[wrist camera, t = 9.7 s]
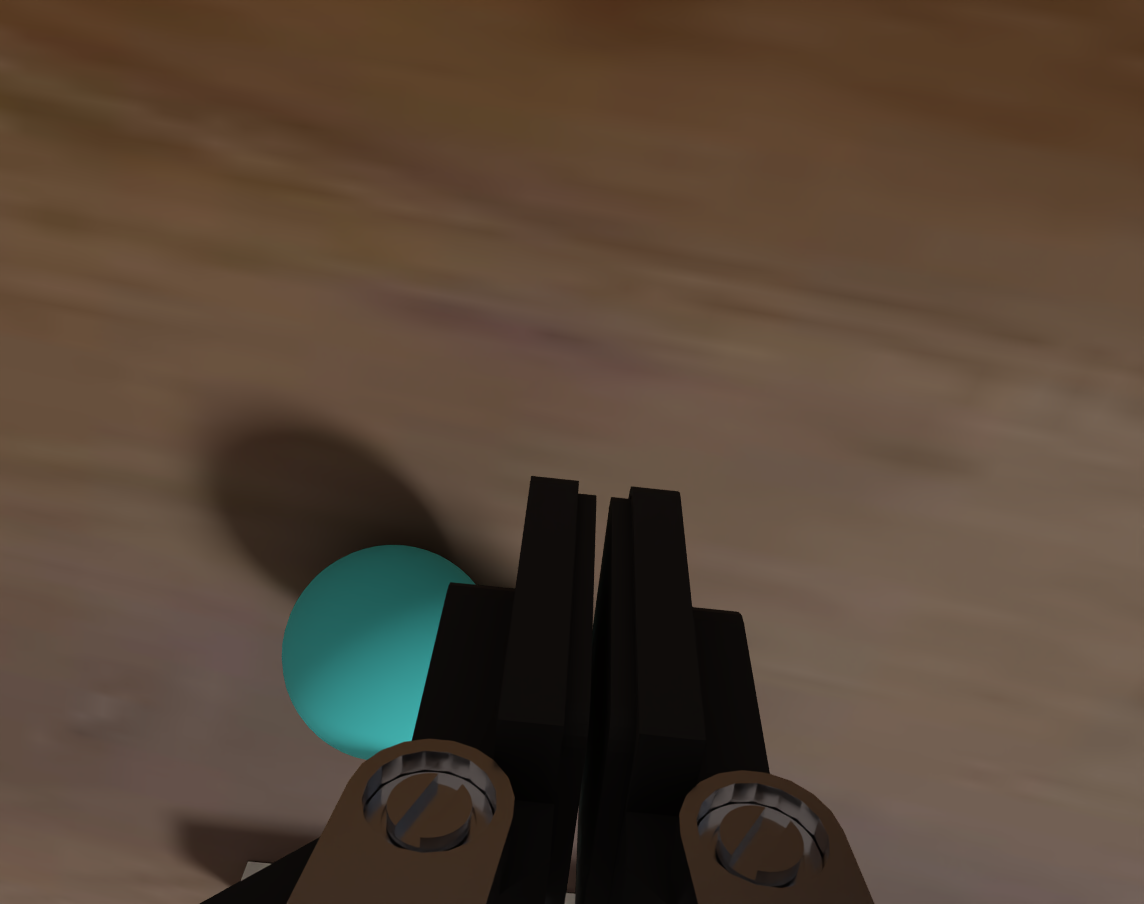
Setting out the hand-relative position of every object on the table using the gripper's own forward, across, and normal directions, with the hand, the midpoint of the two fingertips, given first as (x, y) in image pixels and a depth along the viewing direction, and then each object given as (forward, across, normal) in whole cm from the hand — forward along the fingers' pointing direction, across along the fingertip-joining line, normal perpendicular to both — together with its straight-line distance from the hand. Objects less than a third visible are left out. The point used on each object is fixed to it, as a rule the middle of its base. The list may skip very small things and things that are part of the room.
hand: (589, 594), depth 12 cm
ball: (+14, +4, +13) cm, 19 cm away
